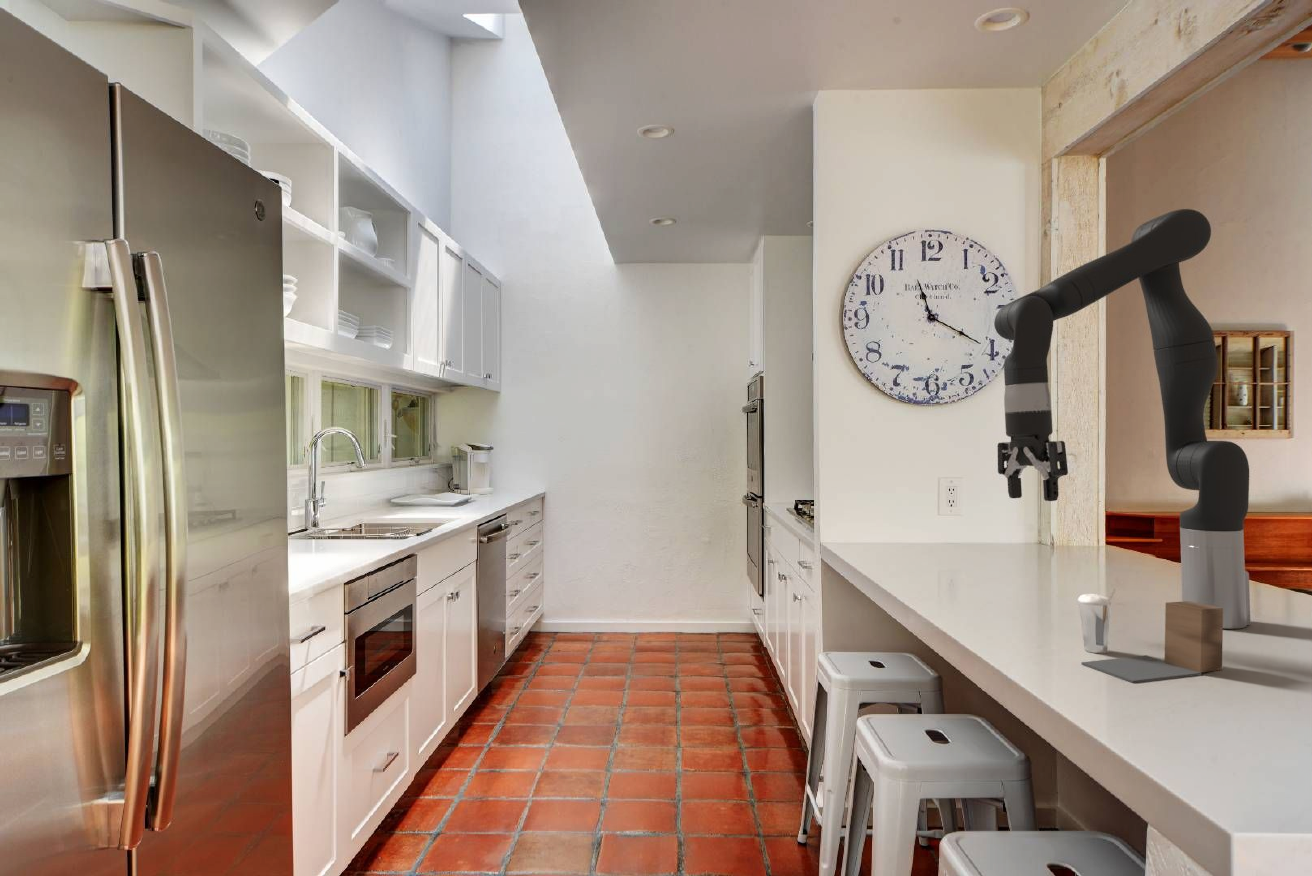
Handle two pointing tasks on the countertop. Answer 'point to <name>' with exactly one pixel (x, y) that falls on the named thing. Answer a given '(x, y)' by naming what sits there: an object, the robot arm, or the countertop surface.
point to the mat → (1140, 669)
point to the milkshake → (1095, 621)
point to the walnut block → (1194, 636)
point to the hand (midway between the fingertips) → (1032, 499)
